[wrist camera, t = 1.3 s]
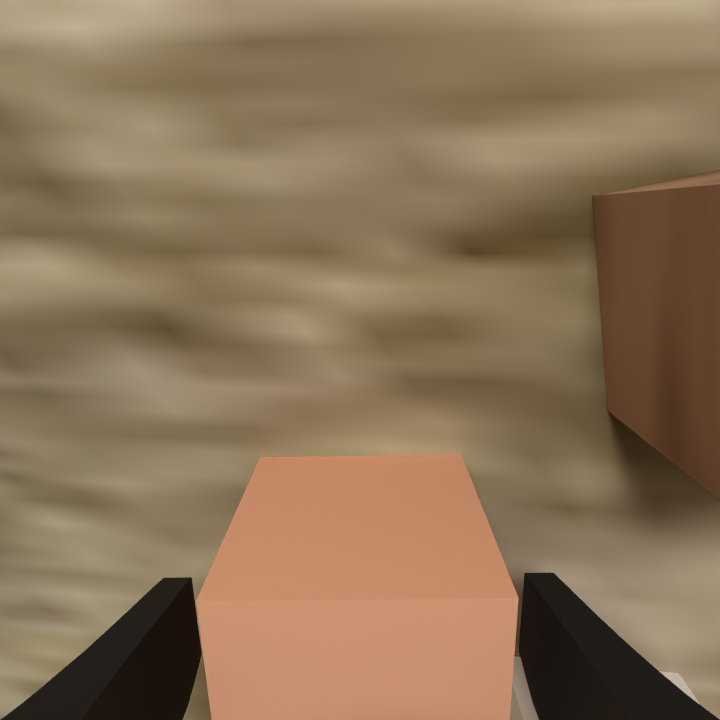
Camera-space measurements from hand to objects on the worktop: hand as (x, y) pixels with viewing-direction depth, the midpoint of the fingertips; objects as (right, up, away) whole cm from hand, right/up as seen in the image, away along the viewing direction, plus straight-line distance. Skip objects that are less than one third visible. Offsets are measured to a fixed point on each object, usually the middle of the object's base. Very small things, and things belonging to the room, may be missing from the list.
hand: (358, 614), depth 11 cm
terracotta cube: (0, +1, +2) cm, 3 cm away
